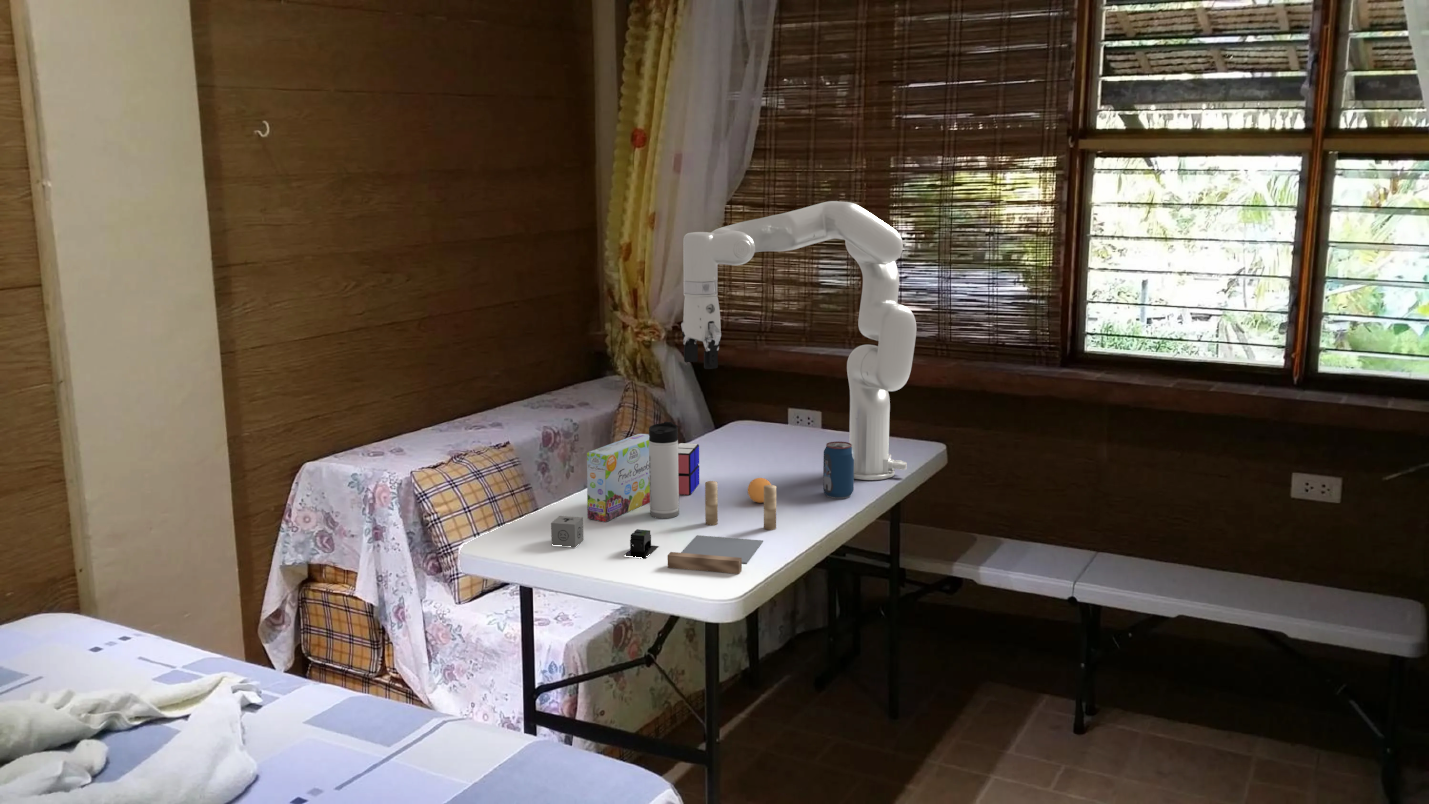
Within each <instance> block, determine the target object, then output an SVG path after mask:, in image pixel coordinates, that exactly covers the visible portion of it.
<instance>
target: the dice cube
mask: <svg viewBox="0 0 1429 804" xmlns="http://www.w3.org/2000/svg"><path fill="white" fill-rule="evenodd" d="M550 529H551V535H550V536H551V545H552V544H553V545H562V546H571V547H576V546H577V545H578V544H579V545H580V544H582V543H583V542H584V541H585V540H584V539H585V538H584V537H585V536H584V517H583V516H571V515H570V516H567V515H558V517H557V518H555V519H554V520H553V521H552V522H551V523H550ZM583 540H584V541H583ZM579 545H578V546H579ZM578 546H577V547H578ZM577 547H576V548H577Z"/></svg>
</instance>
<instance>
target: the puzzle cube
mask: <svg viewBox="0 0 1429 804" xmlns="http://www.w3.org/2000/svg"><path fill="white" fill-rule="evenodd" d="M699 464H700V445H699V444H698V443H688V442H687V443H686V442H685V443H683V442H680V443H679V442H678V477H679V496H691V495H692V493H694V491H695V490H696V488H697V487H698V486H699V485H700V465H699Z"/></svg>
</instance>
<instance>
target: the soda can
mask: <svg viewBox="0 0 1429 804" xmlns="http://www.w3.org/2000/svg"><path fill="white" fill-rule="evenodd" d="M825 445H826V446H825V448H824V450H823V462H822V463H823V465H822V466H823V471H822V472H823V473H822V475H823V481H822V491H823V493H824V494H825V496H826V497H827V496H828V497H827V498H830V499H836V498H843V499H848V498H850V497H851V496H852V494H853V493H854V484H855V481H854V480H855V479H854V451H853V449H852V447H851V446H852V444H851V443H849V442H848V441H840V440H839V441H829V442H826V444H825ZM847 497H848V498H847Z"/></svg>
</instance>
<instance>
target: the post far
mask: <svg viewBox="0 0 1429 804" xmlns="http://www.w3.org/2000/svg"><path fill="white" fill-rule="evenodd" d="M704 492H705V493H704V498H705V499H704V503H705V504H704V505H705V506H704V510H705V513H704V514H705V515H704V516H705V520H704V521H705V522H704V523H705V525H706V526H717V525H718V520H719V517H718V516H719V515H718V514H719V513H718V512H719V511H718V508H719V507H718V499H719V498H718V496H719V495H718V482H717V481H716V480H707V481H705V482H704Z"/></svg>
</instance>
